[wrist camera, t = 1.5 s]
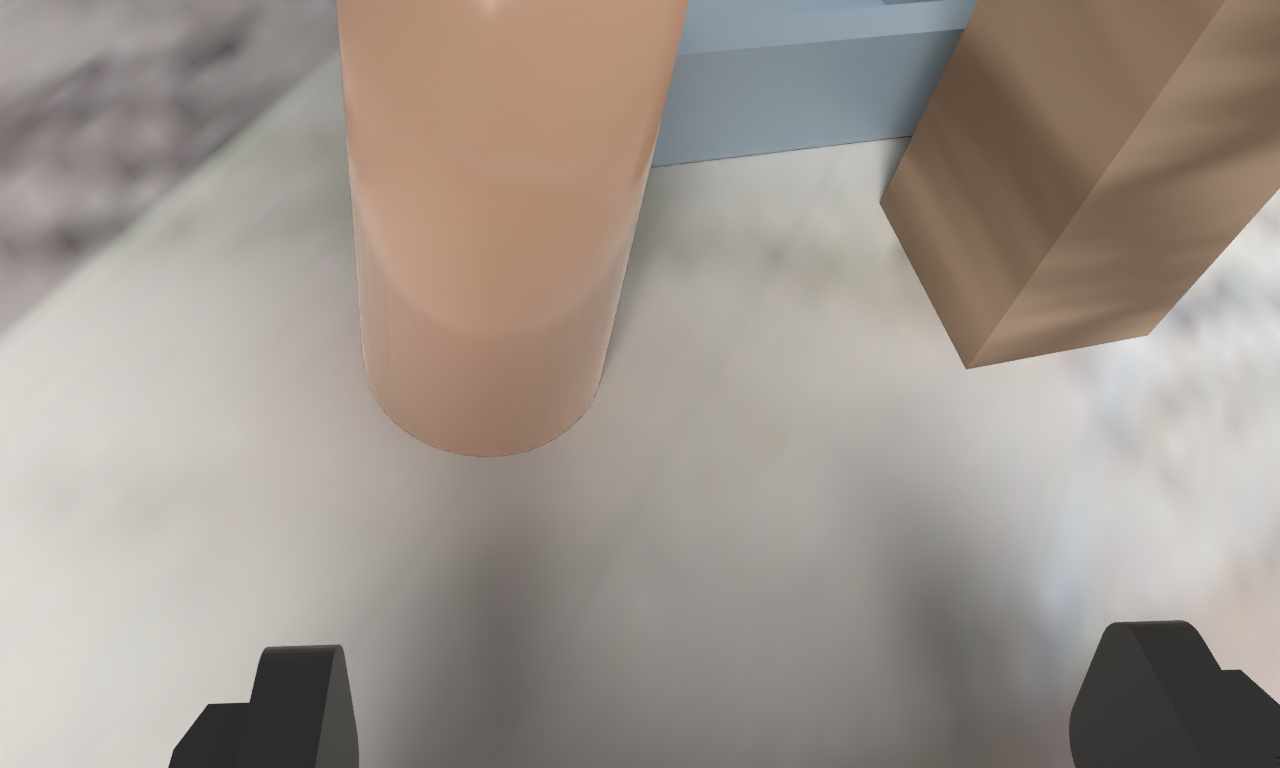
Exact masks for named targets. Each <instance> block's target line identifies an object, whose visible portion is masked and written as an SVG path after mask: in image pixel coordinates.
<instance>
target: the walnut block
mask: <svg viewBox="0 0 1280 768" xmlns="http://www.w3.org/2000/svg"><path fill="white" fill-rule="evenodd" d="M1279 188H1280V0H978V2H977V4H976V7H975V9H974V11H973V13H972V15H971V17H970V19H969V21H968V23H967V25H966V27H965V29H964V31H963V33H962V35H961V37H960V39H959V41H958V43H957V46H956V48H955V50H954V52H953V54H952V56H951V58H950V60H949V62H948V64H947V66H946V68H945V70H944V72H943V74H942V76H941V78H940V80H939V83H938V85H937V87H936V89H935V91H934V93H933V95H932V97H931V99H930V101H929V103H928V105H927V107H926V109H925V111H924V113H923V115H922V117H921V120H920V122H919V124H918V126H917V128H916V130H915V132H914V134H913V136H912V138H911V140H910V142H909V144H908V146H907V148H906V150H905V152H904V154H903V157H902V159H901V161H900V163H899V165H898V167H897V169H896V171H895V173H894V175H893V177H892V179H891V181H890V183H889V185H888V187H887V189H886V191H885V193H884V196H883V198H882V200H881V202H880V204H881V206H882V208H883V210H884V212H885V214H886V216H887V218H888V220H889V222H890V224H891V225H892V227H893V229H894V231H895V233H896V235H897V237H898V239H899V241H900V243H901V245H902V247H903V248H904V250H905V252H906V254H907V256H908V258H909V260H910V262H911V264H912V266H913V268H914V270H915V271H916V273H917V275H918V277H919V279H920V281H921V283H922V285H923V287H924V289H925V291H926V293H927V294H928V296H929V298H930V300H931V302H932V304H933V306H934V308H935V310H936V312H937V314H938V316H939V317H940V319H941V321H942V323H943V325H944V327H945V329H946V331H947V333H948V335H949V337H950V339H951V340H952V342H953V344H954V346H955V348H956V350H957V352H958V354H959V356H960V358H961V360H962V362H963V363H964V365H965V367H966V369H970V368H975V367H981V366H986V365H991V364H997V363H1002V362H1007V361H1013V360H1018V359H1023V358H1028V357H1034V356H1039V355H1044V354H1050V353H1055V352H1060V351H1066V350H1071V349H1076V348H1082V347H1087V346H1092V345H1097V344H1103V343H1108V342H1113V341H1119V340H1124V339H1129V338H1135V337H1140V336H1145V335H1148V334H1149V333H1150V332H1151V331H1152V330H1153V329H1154V328H1155V327H1156V325H1157V324H1158V323H1159V322H1160V321H1161V320H1162V319H1163V318H1164V317H1165V315H1166V314H1167V313H1168V312H1169V311H1170V310H1171V309H1172V308H1173V306H1174V305H1175V304H1176V303H1177V302H1178V301H1179V300H1180V299H1181V298H1182V296H1183V295H1184V294H1185V293H1186V292H1187V291H1188V290H1189V289H1190V288H1191V286H1192V285H1193V284H1194V283H1195V282H1196V281H1197V280H1198V279H1199V277H1200V276H1201V275H1202V274H1203V273H1204V272H1205V271H1206V270H1207V269H1208V267H1209V266H1210V265H1211V264H1212V263H1213V262H1214V261H1215V260H1216V259H1217V257H1218V256H1219V255H1220V254H1221V253H1222V252H1223V251H1224V250H1225V248H1226V247H1227V246H1228V245H1229V244H1230V243H1231V242H1232V241H1233V240H1234V238H1235V237H1236V236H1237V235H1238V234H1239V233H1240V232H1241V231H1242V230H1243V228H1244V227H1245V226H1246V225H1247V224H1248V223H1249V222H1250V221H1251V219H1252V218H1253V217H1254V216H1255V215H1256V214H1257V213H1258V212H1259V211H1260V209H1261V208H1262V207H1263V206H1264V205H1265V204H1266V203H1267V202H1268V201H1269V199H1270V198H1271V197H1272V196H1273V195H1274V194H1275V193H1276V192H1277V190H1278V189H1279Z"/></svg>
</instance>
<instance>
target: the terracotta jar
mask: <svg viewBox="0 0 1280 768" xmlns="http://www.w3.org/2000/svg"><path fill="white" fill-rule="evenodd" d="M336 1H337V15H338V28H339V42H340V55H341V69H342V83H343V96H344V110H345V123H346V137H347V151H348V164H349V178H350V191H351V205H352V219H353V232H354V246H355V259H356V273H357V287H358V300H359V314H360V327H361V341H362V355H363V364H364V371H365V375H366V378H367V382H368V385H369V387H370V389H371V391H372V393H373V395H374V398H375V399H376V401H377V402H378V404H379V405H380V406H381V408H382V409H383V411H384V412H385V413H386V414H387V415H388V416H389V417H390V418H391V419H392V420H393V421H394V422H395V423H396V424H397V425H398V426H400V427H401V428H402V429H403V430H404V431H406V432H407V433H409V434H411V435H412V436H414V437H415V438H417V439H419V440H421V441H423V442H425V443H427V444H429V445H431V446H434V447H437V448H439V449H442V450H445V451H449V452H453V453H458V454H462V455H470V456H480V457H481V456H503V455H511V454H516V453H520V452H524V451H528V450H531V449H534V448H536V447H539V446H541V445H544V444H546V443H548V442H549V441H551V440H553V439H555V438H557V437H558V436H560V435H561V434H563V433H564V432H565V431H567V430H568V429H569V428H570V427H572V426H573V425H574V424H575V423H576V422H577V421H578V420H579V419H580V418H581V416H582V415H583V414H584V413H585V411H586V410H587V409H588V407H589V406H590V404H591V402H592V400H593V399H594V397H595V394H596V392H597V389H598V387H599V384H600V379H601V375H602V371H603V367H604V362H605V358H606V354H607V349H608V345H609V341H610V337H611V332H612V328H613V324H614V320H615V315H616V311H617V307H618V303H619V298H620V294H621V290H622V286H623V281H624V277H625V273H626V268H627V264H628V260H629V256H630V251H631V247H632V243H633V239H634V234H635V230H636V226H637V222H638V217H639V213H640V209H641V205H642V200H643V196H644V192H645V187H646V183H647V179H648V175H649V170H650V166H651V162H652V158H653V153H654V149H655V145H656V141H657V136H658V132H659V128H660V124H661V119H662V115H663V111H664V106H665V102H666V98H667V94H668V89H669V85H670V81H671V77H672V72H673V68H674V64H675V60H676V55H677V51H678V47H679V43H680V38H681V34H682V30H683V25H684V21H685V17H686V13H687V8H688V4H689V0H336Z"/></svg>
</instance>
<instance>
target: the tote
mask: <svg viewBox="0 0 1280 768" xmlns="http://www.w3.org/2000/svg"><path fill="white" fill-rule="evenodd" d="M977 2H978V0H689V4H688V8H687V13H686V17H685V21H684V25H683V30H682V34H681V38H680V43H679V47H678V51H677V55H676V60H675V64H674V68H673V72H672V77H671V81H670V85H669V89H668V94H667V98H666V102H665V106H664V111H663V115H662V119H661V124H660V128H659V132H658V136H657V141H656V145H655V149H654V153H653V158H652V162H651V166H650V167H656V166H664V165H672V164H681V163H689V162H697V161H705V160H714V159H722V158H730V157H739V156H747V155H755V154H764V153H772V152H780V151H789V150H797V149H805V148H814V147H822V146H830V145H838V144H847V143H855V142H863V141H872V140H880V139H888V138H897V137H905V136H913V134H914V132H915V130H916V128H917V126H918V124H919V122H920V120H921V117H922V115H923V113H924V111H925V109H926V107H927V105H928V103H929V101H930V99H931V97H932V95H933V93H934V91H935V89H936V87H937V85H938V83H939V80H940V78H941V76H942V74H943V72H944V70H945V68H946V66H947V64H948V62H949V60H950V58H951V56H952V54H953V52H954V50H955V48H956V46H957V43H958V41H959V39H960V37H961V35H962V33H963V31H964V29H965V27H966V25H967V23H968V21H969V19H970V17H971V15H972V13H973V11H974V9H975V7H976V4H977Z"/></svg>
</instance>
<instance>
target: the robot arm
mask: <svg viewBox="0 0 1280 768" xmlns="http://www.w3.org/2000/svg"><path fill="white" fill-rule="evenodd" d="M1069 738H1070V747H1071V753H1072V757H1073V761H1074V764H1075V767H1076V768H1280V705H1279V704H1278V703H1277V702H1276V701H1275V700H1274V699H1273V698H1271V697H1270V696H1269V695H1268V694H1267V693H1266V692H1265V691H1264V690H1263V689H1261V688H1260V687H1259V686H1258V685H1257V684H1256V683H1255V682H1254V681H1252V680H1251V679H1250V678H1249V677H1248V676H1247V675H1246V674H1245V673H1243V672H1242V671H1241V670H1221V668H1220V667H1219V665H1218V663H1217V662H1216V660H1215V658H1214V657H1213V655H1212V653H1211V652H1210V650H1209V648H1208V647H1207V645H1206V643H1205V642H1204V640H1203V638H1202V637H1201V635H1200V634H1199V632H1198V631H1197V630H1196V629H1195V628H1194V627H1193V626H1192V625H1191V624H1189V623H1188V622H1185V621H1181V620H1174V621H1143V622H1115V623H1112V624H1110V625H1109V626H1108V627H1107V628H1106V629H1105V631H1104V633H1103V635H1102V638H1101V640H1100V642H1099V645H1098V647H1097V650H1096V652H1095V655H1094V657H1093V660H1092V662H1091V664H1090V667H1089V669H1088V672H1087V674H1086V677H1085V679H1084V681H1083V684H1082V686H1081V689H1080V691H1079V694H1078V696H1077V699H1076V701H1075V703H1074V706H1073V708H1072V712H1071V716H1070V723H1069ZM168 768H359V748H358V736H357V729H356V723H355V717H354V711H353V705H352V698H351V692H350V686H349V680H348V674H347V668H346V662H345V656H344V651H343V648H342V646H341V645H312V646H281V647H266V648H265V649H264V651H263V653H262V655H261V658H260V661H259V664H258V668H257V673H256V677H255V681H254V686H253V690H252V694H251V699H250V703H226V704H208V705H207V706H206V708H205V709H204V710H203V712H202V713H201V714H200V716H199V717H198V718H197V720H196V721H195V722H194V724H193V725H192V726H191V727H190V729H189V730H188V731H187V733H186V734H185V735H184V737H183V738H182V739H181V741H180V742H179V743H178V745H177V746H176V747H175V749H174V750H173V753H172V757H171V760H170V764H169V767H168Z"/></svg>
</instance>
